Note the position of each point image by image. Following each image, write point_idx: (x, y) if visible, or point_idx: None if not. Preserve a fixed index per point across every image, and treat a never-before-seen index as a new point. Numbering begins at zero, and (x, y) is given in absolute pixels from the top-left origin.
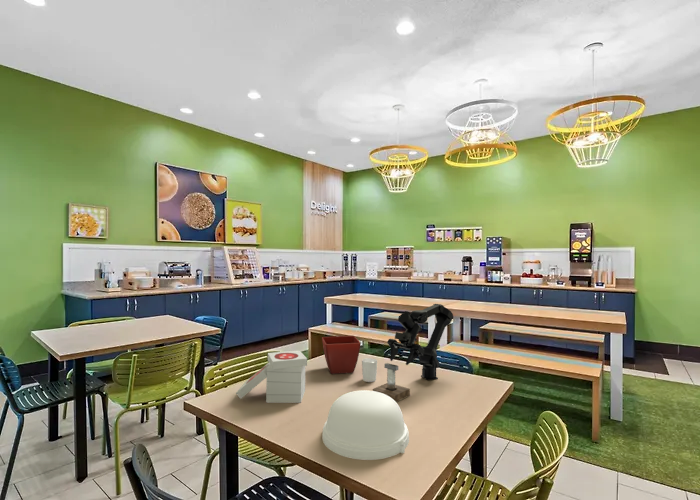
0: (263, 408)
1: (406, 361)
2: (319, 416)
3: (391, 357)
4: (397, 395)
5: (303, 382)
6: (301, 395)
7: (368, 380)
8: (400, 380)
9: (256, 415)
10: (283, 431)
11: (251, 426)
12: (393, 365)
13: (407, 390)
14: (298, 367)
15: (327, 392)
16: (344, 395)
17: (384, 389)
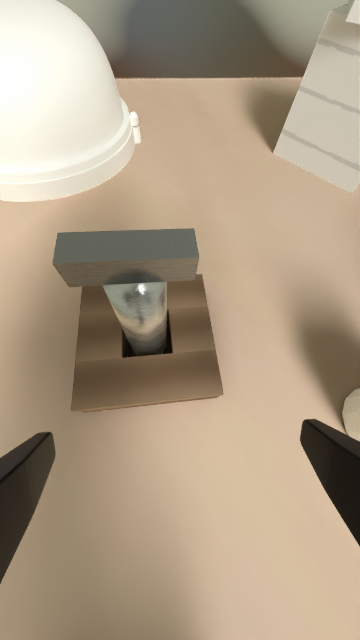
0: (283, 112)
1: (24, 453)
2: (182, 140)
3: (330, 438)
4: (82, 302)
5: (339, 133)
6: (287, 140)
7: (353, 393)
8: (290, 608)
9: (259, 98)
10: (174, 93)
11: (223, 83)
12: (98, 242)
13: (74, 385)
14: (336, 9)
15: (306, 218)
16: (56, 2)
17: None
